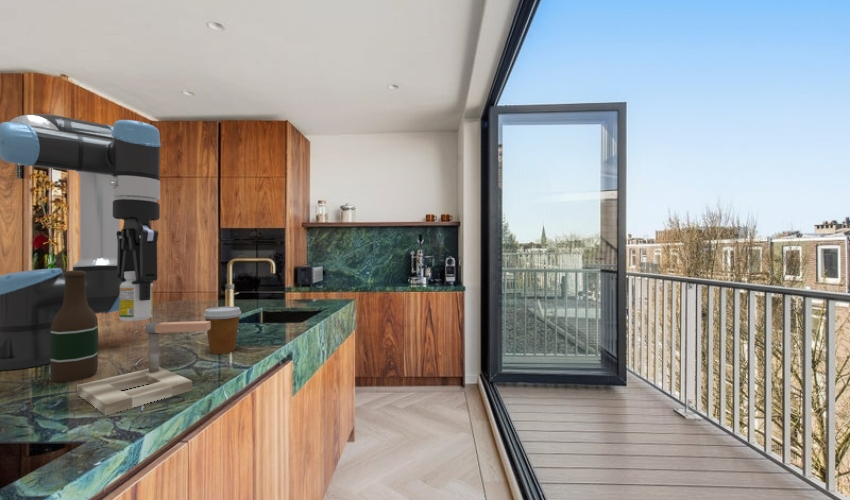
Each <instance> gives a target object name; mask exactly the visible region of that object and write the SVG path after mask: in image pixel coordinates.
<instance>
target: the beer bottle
mask: <svg viewBox="0 0 850 500" xmlns="http://www.w3.org/2000/svg"><path fill="white" fill-rule="evenodd" d="M63 273H64V276H65V277H66V278H65V290H64V301H63V305H62V308H61V309H60V310H59V311H58V313H57V314H56V315H55V317H54V319H53V321H52V324H51V363H50V380H51V381H52V382H56V383H66V382H67V383H68V381H69V382H76V381H75V380H77V381H81V380H83V379H84V378H85V379H87V378H92V377H93V376H94V375H96V373H97V372H98V368H99V366H98V365H99V360H98V359H99V322H98V317H97V315H96V314H95V312H94V311H93V310H92V309H91V308H90V307H89V306H88V302H87V297H86V285H85V276H86V275H87V274H86V272H85V271H81V270H79V271H73V270H67V271H64V272H63ZM91 376H92V377H91ZM80 379H81V380H80Z"/></svg>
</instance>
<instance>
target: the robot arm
mask: <svg viewBox="0 0 850 500" xmlns="http://www.w3.org/2000/svg"><path fill="white" fill-rule="evenodd" d="M160 135H161V134H160V131H159V129H158V128H157V127H155V125H152V124H149V123H146V122H143V121H139V120H138V121H137V120H132V119H130V120H129V119H119V120H116V121H115V122H113V126H111V125H109V124H103V123H97V122H92V121H88V120H82V119H77V118H71V117H66V116H61V115H56V114H48V113H34V114H33V113H29V114H22V115H18V116H15V117H13V118H12V119H11V120H9V121H4V122H1V123H0V160H2V161H4V163H5V162H6V163H9V164H18V165H22V166H26V167H37V168H38V167H39V168H40V167H41V168H48V169H59V170H68V171H75V172H76V173H77V174H78V175H79V239H80V240H79V241H80V242H79V245H80V246H79V247H80V249H79V253H80V255H79V261H77V262H76V263H75V264H73V265H72V271H79V270H81V271H85V272H86V274H87V275H86V276H85V285H86V297H87V302H88V306H89V307H90V308H91V309H92V310H93V311H94V312H95V314H109V313H113V312H116V313H117V312H119V305H120V285H121V283H123V282H125V281H126V279H125V278H124V272H127V271H135V275H136V281H133V282H132V284H134V318H138V317H146V316H151V287H152V284H153V283H154V281H157V280H158V237H159V231H158V230H155V229H154V230H152V227H151V222H153V221H159V220H160V219H161V218H160V216H161V215H160V214H161V213H160V212H161V210H160V209H161V208H160V207H161V204H159V202H157V201H160V200H161V181H160V178H161V177H160V176H161V169H160V167H161V147H162V143H161V136H160ZM121 220H122V221H124V222H123V227H122V229H121ZM64 273H65V272H63V269H62V268H60V267H54V268H41V269H31V270H24V271H16V272H8V273H6V274H2V275H0V371H9V370H10V371H11V370H19V369H27V368H33V367H39V366H42V365H48V364H51V324H52V321H53V319H54V317H55V315H56V314H57V313H58V311H59V310H60V309H61V308H62V305H63V301H64V290H65V278H66V277H65V276H64Z"/></svg>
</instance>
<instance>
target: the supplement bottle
mask: <svg viewBox="0 0 850 500" xmlns="http://www.w3.org/2000/svg"><path fill="white" fill-rule="evenodd" d="M124 278H125V279H126V281H125V282H123V283H121V285H120V305H119V311H118V312H119V315H118V316H119V317H118V318H119V320H120V321H123V322H136V321H137V322H139V321H145V320H148V319H151V318H152V317H153V312H154V311H153V310H154V309H153V305H154V303H153V302H154V301H153V299H154V284H153V283H152V287H151V316H146V317H138V318H134V284H132V282H133V281H136V275H135V271H127V272H124Z"/></svg>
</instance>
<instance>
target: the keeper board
mask: <svg viewBox="0 0 850 500" xmlns="http://www.w3.org/2000/svg"><path fill="white" fill-rule="evenodd" d="M146 384H149V385H146ZM142 385H144V386H142ZM137 386H140V387H137ZM133 387H136V388H133ZM129 388H132V389H129ZM125 389H128V390H125ZM121 390H125V391H121ZM192 391H193V380H191V379H189V378H187V377H185V376H182V375H179V374H177V373H175V372H172V371H171V370H170V371H169V370H167V369H165V368H162V367H160V333H148V368H145V369H142V370H138V371H134V372H133V371H132V372H129V373H124V374H119V375H116V376H111V377H106V378H102V379H97V380H94V381H89V382H85V383H81V384H76V395H77V394H78V395H79V396H80V397H82V398H83V399H85V400H86V401H88V402H89V403H90V404H92V405H93V406H94V407H95V409H96V408H97V409H98V410H97V409H96V410H97V411H99V412H100V413H101V414H103V415H104V416H105V417H107V415H108V416H111V415H114V414H118V413H120V411H121V412H123V411H124V412H125V411H128V410H131V409H134V407H135V408H137V407H140V406H145V405H147V403H148V404H151V403H150V402H152V403H155V402H157V400H158V401H161V399H162V400H165V399H168V398H171V397H172V398H173V397H174V396H178V395H181V394H186V393H189V392H192ZM78 395H77V396H78ZM79 396H78V397H79ZM80 397H79V398H80ZM82 398H81V399H82ZM164 398H165V399H164ZM83 399H82V400H83ZM85 400H84V401H85ZM86 401H85V402H86ZM154 401H155V402H154ZM89 403H88V404H89ZM90 404H89V405H90ZM144 404H145V405H144ZM92 405H91V406H92ZM93 406H92V407H93ZM127 409H128V410H127ZM117 412H118V413H117Z"/></svg>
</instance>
